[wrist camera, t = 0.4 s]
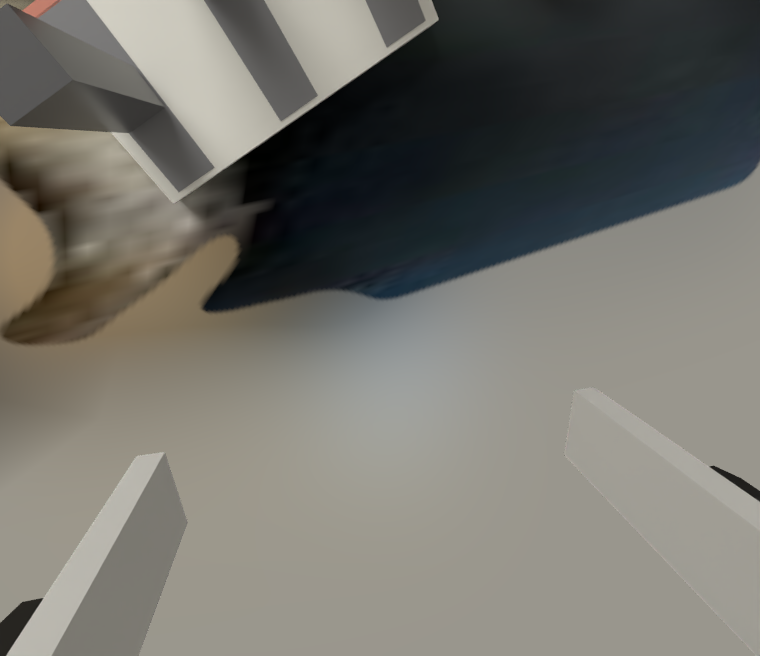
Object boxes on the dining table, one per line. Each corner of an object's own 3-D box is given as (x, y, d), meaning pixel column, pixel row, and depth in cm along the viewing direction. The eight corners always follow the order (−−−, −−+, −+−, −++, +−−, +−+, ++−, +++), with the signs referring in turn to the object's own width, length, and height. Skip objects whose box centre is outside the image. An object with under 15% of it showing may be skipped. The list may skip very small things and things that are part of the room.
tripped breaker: (128, 133, 24) (10, 125, 14) (95, 94, 23) (-61, 54, 13) (165, 107, 24) (72, 79, 14) (134, 66, 23) (7, 3, 13)
